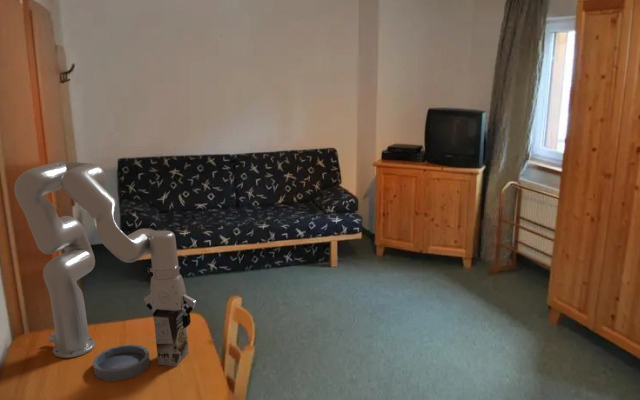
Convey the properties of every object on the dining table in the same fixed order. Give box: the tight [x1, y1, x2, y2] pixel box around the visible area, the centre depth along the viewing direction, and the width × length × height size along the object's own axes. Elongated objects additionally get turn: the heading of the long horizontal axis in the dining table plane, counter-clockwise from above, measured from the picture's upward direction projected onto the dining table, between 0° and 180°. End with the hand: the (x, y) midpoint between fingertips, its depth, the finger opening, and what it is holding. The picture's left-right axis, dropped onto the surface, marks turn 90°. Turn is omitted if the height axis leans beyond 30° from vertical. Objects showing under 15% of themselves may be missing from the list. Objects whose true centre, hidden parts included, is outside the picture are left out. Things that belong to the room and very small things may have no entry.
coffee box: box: [153, 307, 190, 367], centre depth 174 cm, size 9×6×16 cm
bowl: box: [92, 343, 151, 382], centre depth 172 cm, size 16×16×3 cm
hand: (172, 324), depth 173 cm, fingers open, 9 cm apart
